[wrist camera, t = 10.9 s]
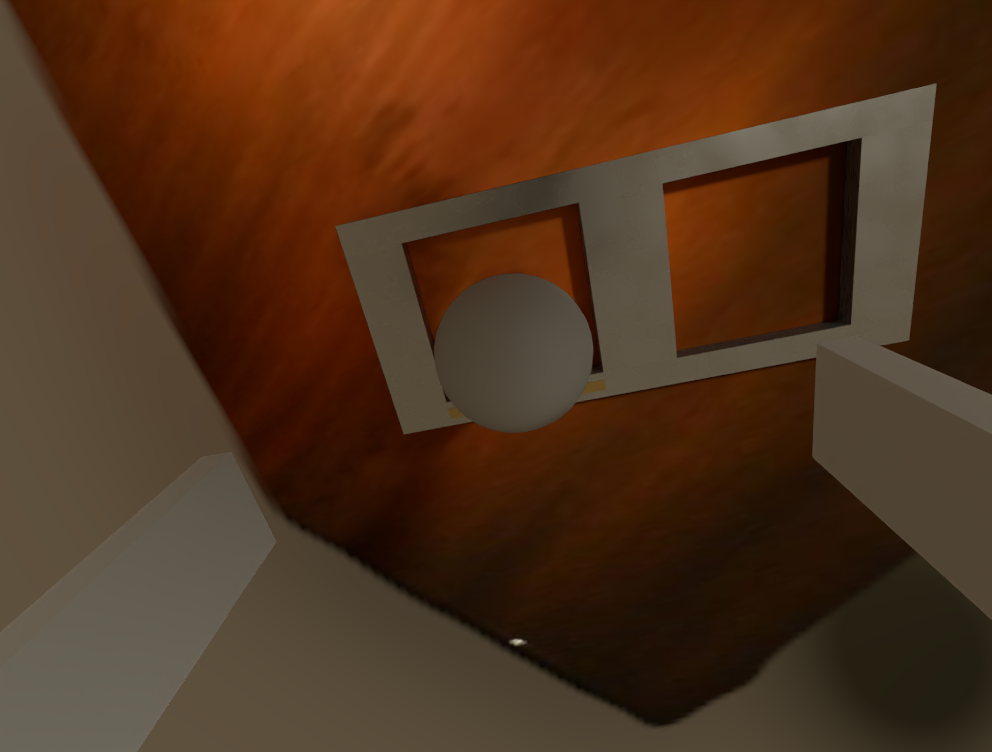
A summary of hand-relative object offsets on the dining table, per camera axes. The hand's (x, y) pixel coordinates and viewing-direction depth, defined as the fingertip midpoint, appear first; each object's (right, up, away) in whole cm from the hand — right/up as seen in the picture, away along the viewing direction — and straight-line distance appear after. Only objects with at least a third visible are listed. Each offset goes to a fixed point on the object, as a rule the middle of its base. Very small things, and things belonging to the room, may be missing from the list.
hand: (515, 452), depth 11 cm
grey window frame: (+6, +7, +14) cm, 17 cm away
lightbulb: (0, +6, +15) cm, 16 cm away
